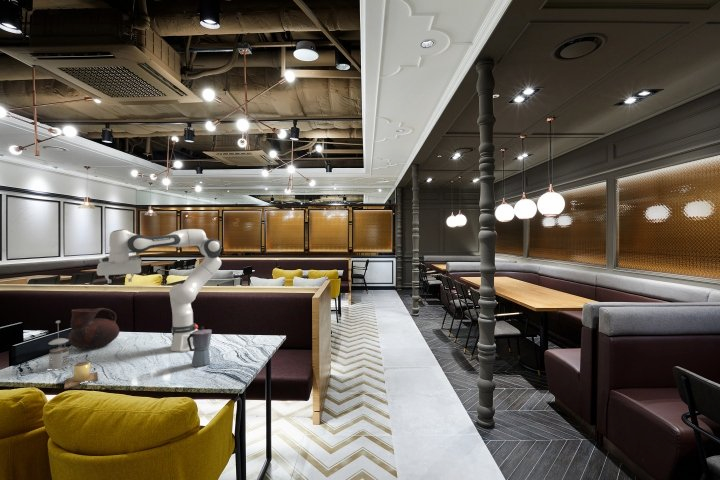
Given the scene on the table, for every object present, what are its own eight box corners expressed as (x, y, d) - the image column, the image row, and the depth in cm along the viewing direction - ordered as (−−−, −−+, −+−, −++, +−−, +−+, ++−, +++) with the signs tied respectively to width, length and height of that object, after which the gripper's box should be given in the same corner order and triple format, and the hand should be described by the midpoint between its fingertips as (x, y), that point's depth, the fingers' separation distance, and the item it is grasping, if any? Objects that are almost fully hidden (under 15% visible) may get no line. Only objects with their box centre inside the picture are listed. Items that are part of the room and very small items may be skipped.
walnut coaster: (97, 372, 165) (97, 371, 165) (98, 380, 156) (98, 379, 156) (65, 379, 157) (65, 378, 157) (64, 388, 148) (64, 387, 148)
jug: (124, 345, 206) (123, 306, 205) (71, 357, 187) (70, 314, 186) (114, 337, 222) (113, 301, 222) (65, 347, 203) (64, 308, 203)
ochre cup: (91, 375, 161) (91, 360, 161) (87, 380, 155) (87, 365, 155) (76, 377, 158) (76, 362, 158) (71, 382, 153) (71, 367, 153)
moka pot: (218, 360, 180) (217, 324, 180) (196, 371, 166) (195, 332, 165) (204, 358, 183) (204, 322, 183) (181, 368, 169) (181, 330, 168)
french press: (43, 372, 166) (41, 323, 166) (51, 364, 176) (50, 318, 176) (68, 368, 171) (67, 321, 170) (75, 361, 181) (74, 316, 181)
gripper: (141, 257, 193) (142, 280, 193) (98, 258, 182) (98, 283, 182) (141, 257, 187) (141, 281, 187) (95, 259, 177) (96, 284, 177)
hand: (119, 282), depth 185 cm, fingers open, 8 cm apart
